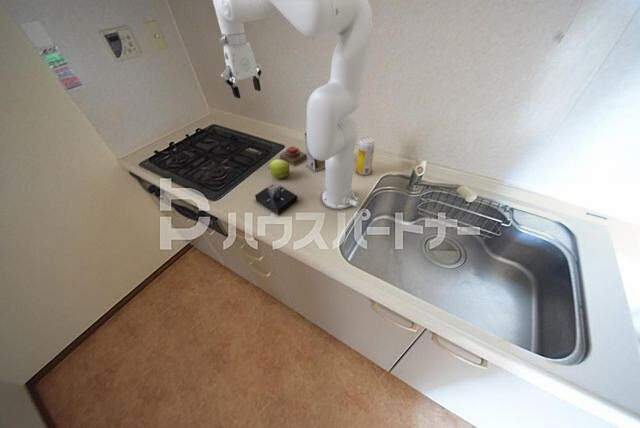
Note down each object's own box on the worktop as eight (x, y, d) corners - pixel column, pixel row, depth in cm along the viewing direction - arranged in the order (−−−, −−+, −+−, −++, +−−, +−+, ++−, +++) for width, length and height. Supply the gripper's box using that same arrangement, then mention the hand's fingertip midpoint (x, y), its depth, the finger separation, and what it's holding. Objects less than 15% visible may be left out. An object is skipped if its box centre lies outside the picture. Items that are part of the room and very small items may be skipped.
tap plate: (297, 201, 92) (296, 195, 90) (278, 215, 87) (277, 209, 85) (275, 188, 99) (274, 182, 96) (256, 201, 93) (254, 194, 91)
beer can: (367, 166, 107) (370, 135, 96) (373, 173, 103) (377, 142, 92) (354, 169, 106) (357, 138, 95) (360, 177, 102) (363, 145, 91)
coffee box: (323, 159, 113) (322, 126, 102) (331, 165, 109) (331, 131, 98) (307, 165, 110) (304, 132, 98) (315, 172, 106) (312, 138, 94)
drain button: (297, 151, 112) (297, 148, 111) (292, 154, 110) (292, 151, 109) (292, 149, 114) (292, 145, 113) (287, 152, 112) (286, 148, 111)
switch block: (306, 158, 114) (305, 150, 111) (294, 165, 110) (293, 158, 107) (292, 151, 119) (291, 144, 116) (280, 158, 115) (279, 151, 112)
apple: (270, 172, 107) (267, 156, 101) (290, 170, 107) (288, 155, 102) (269, 182, 101) (265, 167, 96) (290, 180, 102) (288, 165, 96)
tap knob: (276, 190, 93) (273, 179, 89) (283, 194, 91) (281, 183, 87) (267, 195, 91) (264, 184, 87) (275, 200, 88) (272, 189, 85)
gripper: (218, 45, 74) (234, 102, 86) (262, 36, 83) (271, 89, 95) (206, 43, 77) (223, 98, 89) (249, 34, 86) (259, 86, 98)
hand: (248, 93), depth 92 cm, fingers open, 9 cm apart
